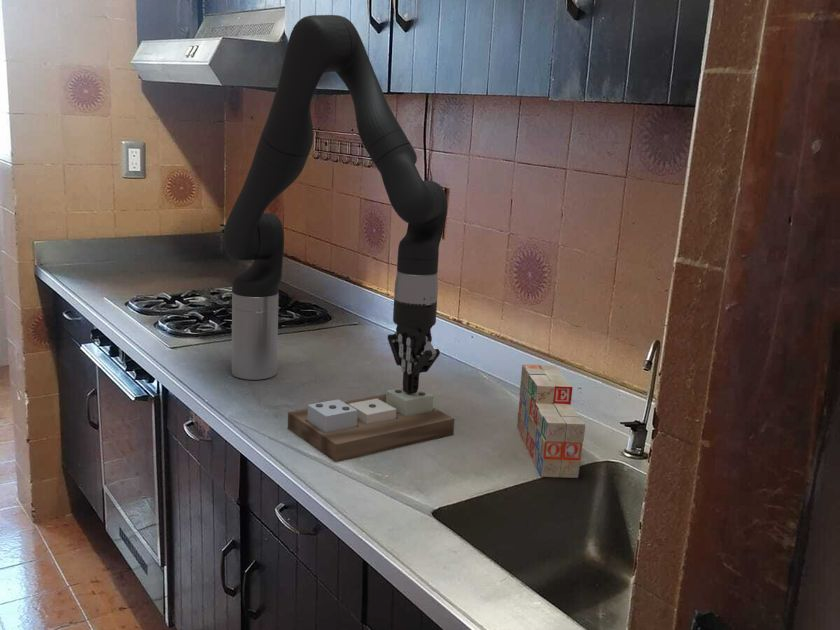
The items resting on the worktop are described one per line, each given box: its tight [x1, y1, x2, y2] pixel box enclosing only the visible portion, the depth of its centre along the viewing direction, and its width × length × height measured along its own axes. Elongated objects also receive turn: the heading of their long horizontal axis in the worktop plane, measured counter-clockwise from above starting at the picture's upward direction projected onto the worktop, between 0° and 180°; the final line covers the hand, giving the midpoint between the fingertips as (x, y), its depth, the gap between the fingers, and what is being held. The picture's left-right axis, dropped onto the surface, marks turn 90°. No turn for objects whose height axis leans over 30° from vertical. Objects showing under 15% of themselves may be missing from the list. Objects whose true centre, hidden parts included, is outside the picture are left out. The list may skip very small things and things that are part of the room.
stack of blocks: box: [516, 364, 586, 479], centre depth 136 cm, size 21×6×12 cm, turn 4°
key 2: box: [386, 387, 434, 417], centre depth 145 cm, size 6×6×3 cm
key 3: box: [307, 398, 357, 433], centre depth 135 cm, size 6×6×3 cm
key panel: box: [287, 393, 455, 463], centre depth 140 cm, size 16×24×3 cm, turn 127°
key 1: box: [348, 399, 396, 425], centre depth 140 cm, size 6×6×3 cm
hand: (410, 392), depth 144 cm, fingers closed
